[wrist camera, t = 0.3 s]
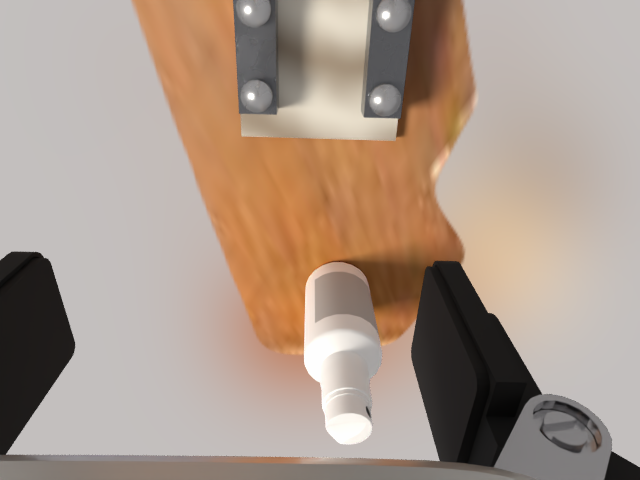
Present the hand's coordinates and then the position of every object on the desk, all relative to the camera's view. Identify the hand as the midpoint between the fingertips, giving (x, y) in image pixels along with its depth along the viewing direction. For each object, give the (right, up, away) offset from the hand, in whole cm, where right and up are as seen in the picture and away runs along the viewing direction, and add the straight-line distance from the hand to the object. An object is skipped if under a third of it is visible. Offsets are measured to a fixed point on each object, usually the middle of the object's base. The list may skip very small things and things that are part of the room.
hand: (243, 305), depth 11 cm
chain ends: (+2, +17, +25) cm, 30 cm away
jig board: (+2, +17, +25) cm, 30 cm away
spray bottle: (+4, -3, +36) cm, 37 cm away
